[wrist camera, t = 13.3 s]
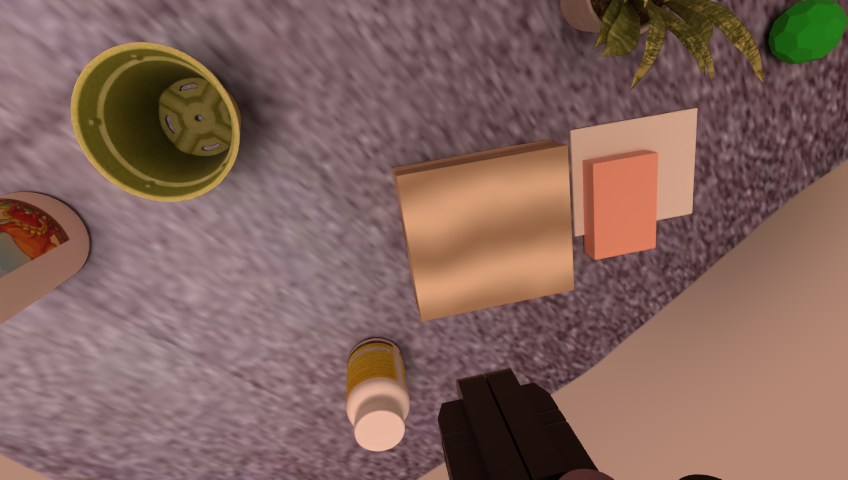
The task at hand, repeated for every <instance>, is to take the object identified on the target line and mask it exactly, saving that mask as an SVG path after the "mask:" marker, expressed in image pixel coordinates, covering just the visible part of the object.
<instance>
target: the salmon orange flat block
mask: <svg viewBox="0 0 848 480" xmlns="http://www.w3.org/2000/svg"><path fill="white" fill-rule="evenodd" d="M582 173H583V209H584V245H585V253H586V254H588V255H589V256H590V257H592V258H593V259H594V260H597V259H602V258H607V257H612V256H617V255H622V254H627V253H632V252H637V251H642V250H647V249H652V248H655V246H656V212H657V177H658V152H654V151H650V150H645V149H644V150H638V151H633V152H627V153H621V154H616V155H610V156H605V157H599V158H593V159H588V160H582Z"/></svg>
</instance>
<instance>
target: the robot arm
mask: <svg viewBox="0 0 848 480" xmlns="http://www.w3.org/2000/svg"><path fill="white" fill-rule="evenodd" d="M456 385H457V392H458V398H459V400H455V401H450V402H446V403H442V405H441V409H440V412H439V416H438V423H439V429H440V434H441V440H442V446H443V451H444V457H445V463H446V467H447V471H448V475H449V479H450V480H614V479H613V478H611V477H610V476H608V475H606V474H604V473H602V472H599V470H598V469H597V468H596V466H595V465H594V463H593V462H592V460H591V458H590V457H589V455H588V454H587V452H586V450H585V449H584V447H583V446H582V444H581V443H580V441H579V439H578V438H577V436H576V435H575V433H574V432H573V430H572V428H571V427H570V425H569V424H568V422H566V419H565V417H564V416H563V414H562V413H561V411H560V410H559V409H558V406H557V405H556V403H555V402H554V400H553V399H552V397H551V395H550V394H549V393H548V392H547V391H545V390H544V389H543V388H541V387H540V386H538V385H537V384H535V383H530V384H525V385H521V386H520V384H519V382H518V380H517V378H516V377H515V375H514V373H513V371H512V370H511V368H507V369H502V370H498V371H493V372H489V373H484V375H483V374H480V375H476V376H471V377H466V378H462V379H457V380H456ZM679 480H722V479H719V478H716V477H713V476H708V475H696V474H695V475H688V476H685V477H683V478H681V479H679Z"/></svg>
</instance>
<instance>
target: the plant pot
mask: <svg viewBox="0 0 848 480" xmlns="http://www.w3.org/2000/svg"><path fill="white" fill-rule="evenodd" d="M193 83H194V84H196V85H197V86H198V87H197V88H190V89H185V90H183V91H180V87H181V86H183V85H187V84H193ZM225 104H226V106H227V107H226V106H225ZM228 111H229V112H228ZM197 115H201V116H202V121H197V120H196V119H195V117H196V116H197ZM229 115H230V116H229ZM166 116H170V120H171V123H172V126H173V128H174V129H173V130H174V131H175V133H173V132H172V131H171V130H170V129H169V128H168V126H167V124H166ZM230 119H231V120H230ZM71 120H72V125H73V129H74V133H75V136H76V139H77V141H78V143H79V145H80V147H81V149H82V150H83V152H84V154H85V155H86V157H87V158H88V160H89V161H90V163H91V164H92V165H93V166H94V167H95V168H96V169H97V170H98V171H99V172H100V173H101V174H102V175H103V176H104V177H105V178H106V179H108V180H109V181H110V182H111V183H113V184H115V185H116V186H117V187H119V188H121V189H123V190H124V191H126V192H129V193H131V194H133V195H136V196H139V197H142V198H145V199H149V200H154V201H162V202H176V201H184V200H188V199H192V198H195V197H198V196H200V195H203V194H205V193H207V192H208V191H210V190H211V189H213V188H215V187H216V186H217V185H218V184H219V183H220V182H221V181H222V180H223V179H224V178H225V177H226V176H227V174H228V173H229V172H230V170H231V168H232V166H233V165H234V163H235V160H236V157H237V154H238V151H239V145H240V130H241V114H240V110H239V108H238V105H237V103H236V101H235V100H234V98H233V97H232V95H231V94H230V93H229V92H228V91H227V90H226V89H225V88H224V87H223V85H222V84H221V83H220V81H219V80H218V79H217V78H216V77H215V75H214V74H213V73H212V72H211V71H210V70H209V69H207V68H206V67H205V66H204V65H203V64H202V63H200V62H199V61H197V60H196V59H194V58H193V57H191V56H190V55H188V54H186V53H184V52H182V51H180V50H177V49H175V48H172V47H169V46H165V45H161V44H157V43H149V42H135V43H127V44H123V45H119V46H115V47H113V48H110V49H108V50H106V51H104V52H102V53H101V54H99V55H98V56H96V57H95V58H94V59H93V60H92V61H91V62H89V64H88V65H87V66H86V67H85V68H84V70H83V71H82V72H81V74H80V76H79V77H78V80H77V82H76V84H75V86H74V90H73V93H72V98H71ZM215 144H219V147H218V148H215V149H212V150H210V151H204V150H203V149H202V147H204V146H205V147H206V146H211V145H215Z"/></svg>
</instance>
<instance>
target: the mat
mask: <svg viewBox="0 0 848 480" xmlns="http://www.w3.org/2000/svg"><path fill="white" fill-rule="evenodd" d="M696 124H697V108H691V109H686V110H680V111H674V112H669V113H663V114H658V115H652V116H646V117H641V118H635V119H629V120H624V121H618V122H613V123H607V124H601V125H596V126H590V127H584V128H579V129H573V130H569V137H570V161H571V184H572V208H573V232H574V236H580V235H584V209H583V173H582V160H588V159H593V158H599V157H605V156H610V155H616V154H621V153H627V152H633V151H638V150H644V149H645V150H650V151H654V152H658V177H657V212H656V220H661V219H666V218H671V217H676V216H681V215H686V214H691V213H692V203H693V183H694V164H695V144H696Z"/></svg>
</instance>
